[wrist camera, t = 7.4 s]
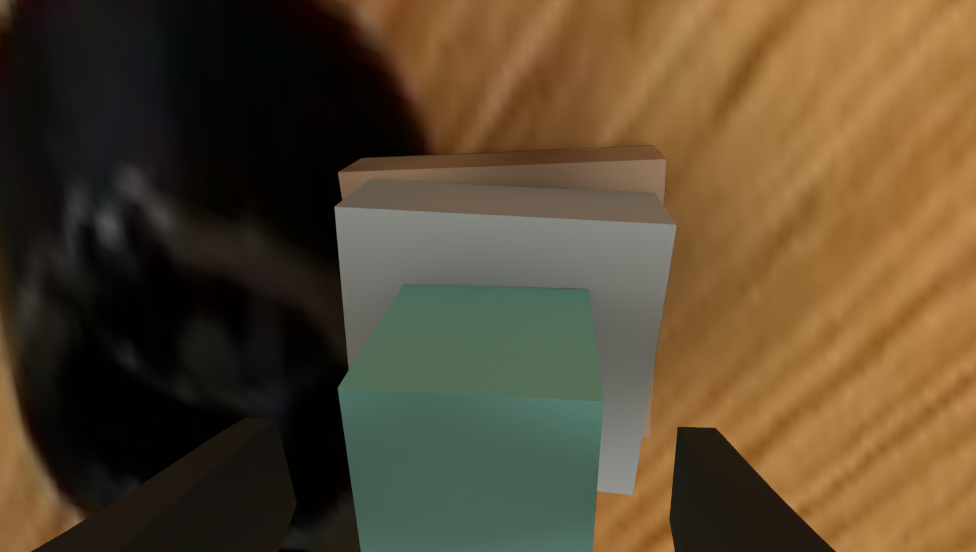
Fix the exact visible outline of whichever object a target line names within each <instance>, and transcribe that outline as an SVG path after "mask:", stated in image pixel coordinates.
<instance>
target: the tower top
mask: <svg viewBox="0 0 976 552" xmlns="http://www.w3.org/2000/svg"><path fill="white" fill-rule="evenodd" d="M335 218H336V230H337V241H338V253H339V264H340V276H341V287H342V298H343V310H344V321H345V333H346V344H347V356H348V367H349V369H350V368H351V366H352V365H353V363H354V362H355V360H356V358H357V357H358V355H359V354H360V352H361V350H362V349H363V347H364V346H365V344H366V342H367V341H368V339H369V338H370V336H371V335H372V333H373V331H374V330H375V328H376V327H377V325H378V323H379V322H380V320H381V319H382V317H383V315H384V314H385V312H386V311H387V309H388V308H389V306H390V304H391V303H392V301H393V300H394V298H395V296H396V295H397V293H398V292H399V290H400V288H401V287H402V285H403V284H422V285H455V286H488V287H521V288H554V289H587V290H589V295H590V303H591V310H592V318H593V325H594V333H595V340H596V348H597V355H598V363H599V370H600V377H601V385H602V392H603V400H604V405H603V418H602V431H601V444H600V457H599V470H598V484H597V492H608V493H619V494H630V495H633V491H634V485H635V479H636V473H637V466H638V460H639V454H640V448H641V442H642V436H643V430H644V424H645V417H646V411H647V405H648V399H649V393H650V387H651V381H652V375H653V368H654V362H655V356H656V350H657V344H658V338H659V332H660V326H661V320H662V313H663V307H664V301H665V295H666V289H667V283H668V277H669V271H670V264H671V258H672V252H673V246H674V240H675V234H676V228H677V224H676V223H675V221H674V220H673V218H672V217H671V215H670V214H669V212H668V211H667V209H666V208H665V207H664V205H663V204H662V202H661V201H660V199H659V198H658V196H657V195H656V194H655V193H643V192H622V191H601V190H580V189H559V188H538V187H517V186H496V185H475V184H454V183H433V182H412V181H391V180H369V181H367V182H366V183H365V184H363V185H362V186H361V187H359V188H358V189H357V190H356V191H354V192H353V193H352V194H350V195H349V196H348V197H347V198H345V199H344V200H343V201H341V202H340V203H339V204H338V205H336V206H335Z"/></svg>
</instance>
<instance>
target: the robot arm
mask: <svg viewBox="0 0 976 552" xmlns="http://www.w3.org/2000/svg"><path fill="white" fill-rule="evenodd" d="M296 505H297V503H296V498H295V494H294V490H293V486H292V482H291V477H290V473H289V469H288V465H287V461H286V457H285V452H284V448H283V444H282V440H281V436H280V431H279V427H278V423H277V419H276V418H245V419H243V420H241V421H239V422H237V423H236V424H234V425H232V426H231V427H229V428H227V429H226V430H224V431H223V432H221V433H219V434H218V435H216V436H215V437H213V438H212V439H210V440H208V441H207V442H205V443H204V444H202V445H201V446H199V447H198V448H196V449H195V450H193V451H192V452H190V453H189V454H187V455H186V456H184V457H183V458H181V459H180V460H178V461H177V462H175V463H174V464H172V465H171V466H169V467H168V468H166V469H164V470H163V471H161V472H160V473H158V474H157V475H155V476H154V477H152V478H151V479H149V480H148V481H146V482H145V483H143V484H142V485H140V486H139V487H137V488H136V489H134V490H132V491H131V492H129V493H128V494H126V495H124V496H123V497H121V498H120V499H118V500H116V501H115V502H113V503H111V504H110V505H108V506H107V507H105V508H103V509H102V510H100V511H98V512H97V513H95V514H94V515H92V516H90V517H89V518H87V519H85V520H84V521H82V522H81V523H79V524H77V525H76V526H74V527H72V528H71V529H69V530H68V531H66V532H64V533H63V534H61V535H59V536H58V537H56V538H54V539H52V540H51V541H49V542H47V543H45V544H44V545H42V546H40V547H38V548H37V549H35V550H33V551H31V552H279V549H280V547H281V545H282V542H283V540H284V537H285V535H286V532H287V529H288V527H289V524H290V521H291V519H292V516H293V513H294V510H295V508H296ZM670 525H671V531H672V536H673V542H674V548H675V552H836V551H835V550H833V549H832V548H831V547H830V546H829V545H828V544H827V543H826V542H825V541H824V540H823V539H822V538H821V537H820V536H819V535H818V534H817V533H816V532H815V531H814V530H813V529H812V528H811V527H810V526H809V525H808V524H807V523H806V522H805V521H804V520H803V519H802V518H801V517H800V516H799V515H798V514H797V513H796V512H795V511H794V510H793V509H792V508H791V507H790V506H789V505H788V504H787V503H786V502H785V501H784V500H783V499H782V498H781V497H780V496H779V495H778V494H777V493H776V492H775V491H774V490H773V489H772V488H771V487H770V486H769V485H768V484H767V483H766V482H765V481H764V480H763V478H762V477H761V476H760V475H759V474H758V473H757V472H756V471H755V470H754V469H753V468H752V467H751V466H750V465H749V463H748V462H747V461H746V460H745V459H744V458H743V457H742V456H741V455H740V454H739V453H738V452H737V450H736V449H735V448H734V447H733V446H732V445H731V444H730V443H729V442H728V441H727V440H726V439H725V437H724V436H723V435H722V434H721V433H720V432H719V431H718V430H717V429H716V428H696V427H678V430H677V442H676V453H675V464H674V475H673V486H672V497H671V509H670Z"/></svg>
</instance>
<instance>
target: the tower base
mask: <svg viewBox="0 0 976 552" xmlns="http://www.w3.org/2000/svg"><path fill="white" fill-rule="evenodd" d="M665 175H666V158H665V157H664V156H663V155H662V154H661V153H660V152H659V151H658V150H657V149H656V148H655V147H654V146H630V147H607V148H584V149H561V150H538V151H515V152H492V153H469V154H446V155H422V156H399V157H376V158H361V159H359V160H358V161H356V162H354V163H353V164H351V165H349V166H348V167H346V168H344V169H343V170H341V171H339V172H338V176H339V182H340V188H341V194H342V200H344V199H345V198H347V197H348V196H349V195H350V194H352V193H353V192H354V191H356V190H357V189H358V188H359V187H361V186H362V185H363V184H365V183H366V182H367V181H369V180H391V181H412V182H433V183H454V184H475V185H496V186H517V187H538V188H559V189H580V190H601V191H622V192H643V193H655V194H656V195H657V196H658V198H659V199H660V201H661V202H662V204H663V205H664V192H665ZM653 377H654V368H653V375H652V381H651V387H650V393H649V399H648V405H647V411H646V417H645V424H644V430H643V436H642V438H650V427H651V410H652V394H653Z"/></svg>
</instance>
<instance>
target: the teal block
mask: <svg viewBox="0 0 976 552" xmlns="http://www.w3.org/2000/svg"><path fill="white" fill-rule="evenodd" d="M338 393H339V400H340V407H341V414H342V421H343V428H344V435H345V442H346V449H347V456H348V463H349V470H350V477H351V484H352V491H353V498H354V505H355V512H356V519H357V527H358V534H359V541H360V548H361V552H592V549H593V536H594V523H595V510H596V497H597V484H598V470H599V457H600V444H601V431H602V418H603V405H604V400H603V392H602V385H601V377H600V370H599V363H598V355H597V348H596V340H595V333H594V325H593V318H592V310H591V303H590V295H589V290H587V289H554V288H521V287H488V286H455V285H422V284H403V285H402V287H401V288H400V290H399V292H398V293H397V295H396V296H395V298H394V300H393V301H392V303H391V304H390V306H389V308H388V309H387V311H386V312H385V314H384V315H383V317H382V319H381V320H380V322H379V323H378V325H377V327H376V328H375V330H374V331H373V333H372V335H371V336H370V338H369V339H368V341H367V342H366V344H365V346H364V347H363V349H362V350H361V352H360V354H359V355H358V357H357V358H356V360H355V362H354V363H353V365H352V366H351V368H350V369H349V371H348V373H347V374H346V376H345V377H344V379H343V381H342V382H341V384H340V385H339V387H338Z"/></svg>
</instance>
